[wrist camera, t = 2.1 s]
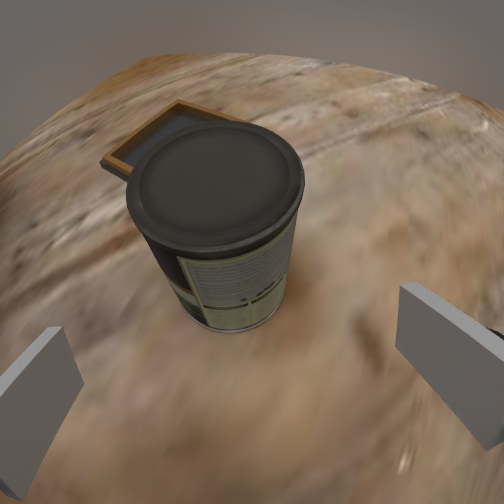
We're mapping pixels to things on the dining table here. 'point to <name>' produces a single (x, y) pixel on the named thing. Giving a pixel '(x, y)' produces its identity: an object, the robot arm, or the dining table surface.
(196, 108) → the mount plate
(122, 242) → the dining table surface
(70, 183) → the dining table surface
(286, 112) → the dining table surface
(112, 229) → the dining table surface
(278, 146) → the coffee can
